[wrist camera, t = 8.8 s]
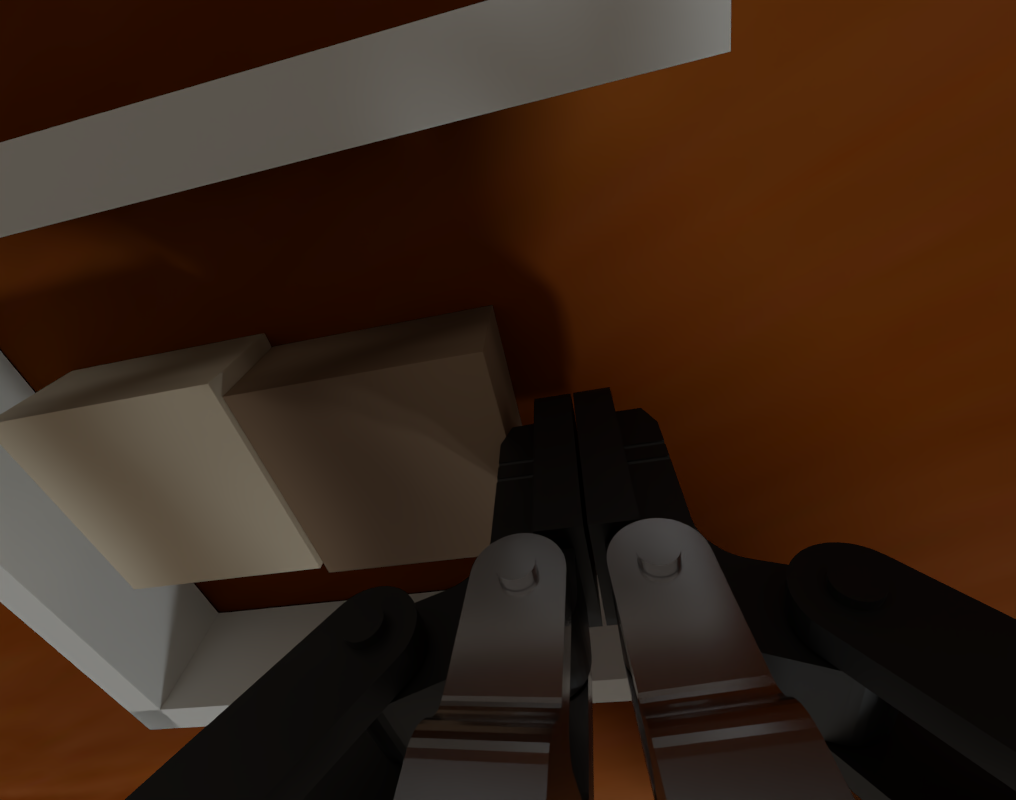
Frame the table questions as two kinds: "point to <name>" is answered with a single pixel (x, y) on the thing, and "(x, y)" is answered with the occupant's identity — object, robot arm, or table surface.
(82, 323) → the table surface
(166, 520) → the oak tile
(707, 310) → the table surface
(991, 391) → the table surface
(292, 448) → the beige flat square block
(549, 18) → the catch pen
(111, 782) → the table surface
